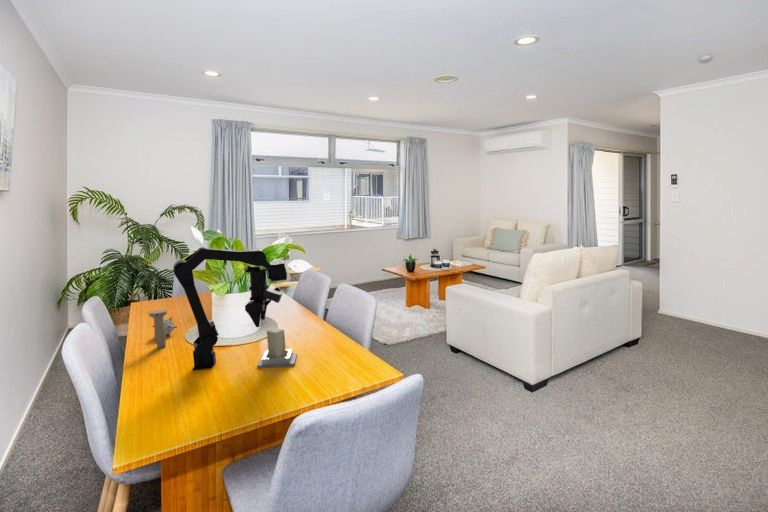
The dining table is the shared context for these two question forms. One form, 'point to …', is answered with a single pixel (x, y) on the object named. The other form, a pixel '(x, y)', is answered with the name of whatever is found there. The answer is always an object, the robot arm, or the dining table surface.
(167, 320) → the grey spiky ball
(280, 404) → the dining table surface
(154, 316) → the handle
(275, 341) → the box
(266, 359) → the socket
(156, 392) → the dining table surface
